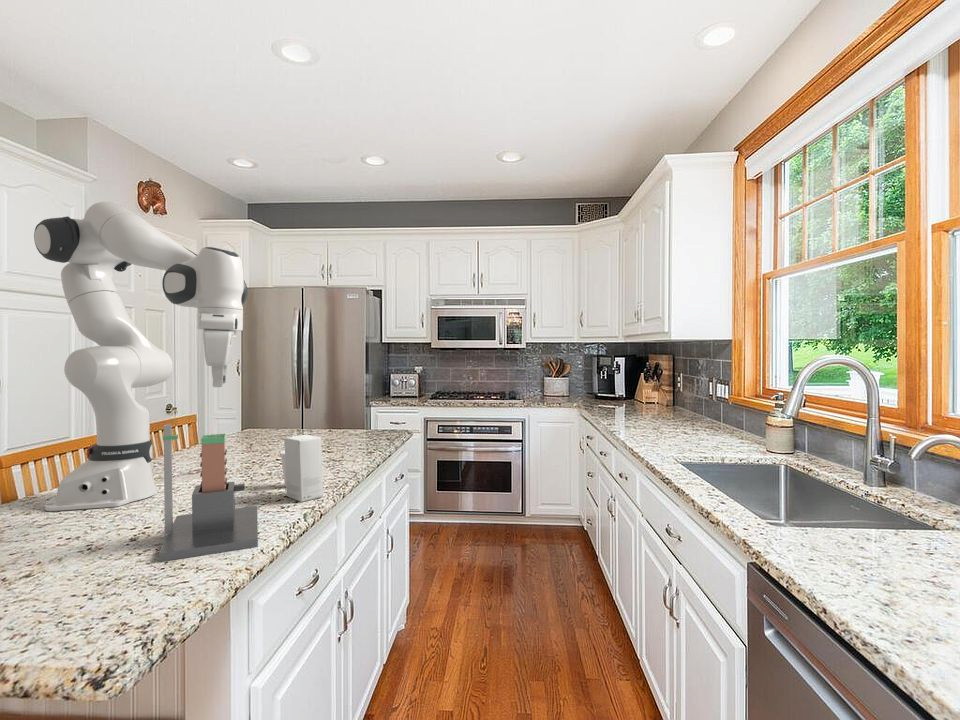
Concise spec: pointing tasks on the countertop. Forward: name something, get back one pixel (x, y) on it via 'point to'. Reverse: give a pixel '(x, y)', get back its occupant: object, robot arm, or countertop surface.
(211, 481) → the column
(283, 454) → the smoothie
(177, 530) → the stand
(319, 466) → the skincare box
